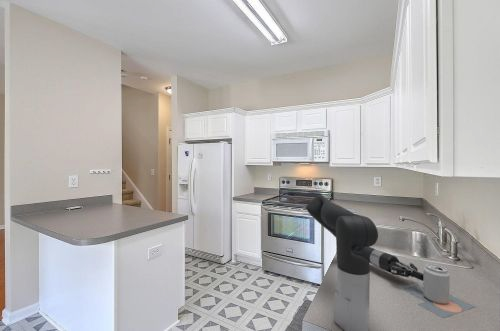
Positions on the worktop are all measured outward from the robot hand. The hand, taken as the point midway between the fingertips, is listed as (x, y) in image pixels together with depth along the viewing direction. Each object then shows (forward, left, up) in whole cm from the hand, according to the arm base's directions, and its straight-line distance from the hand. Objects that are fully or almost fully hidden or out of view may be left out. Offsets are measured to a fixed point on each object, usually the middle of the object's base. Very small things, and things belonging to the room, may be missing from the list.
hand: (424, 278), depth 88 cm
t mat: (0, -2, -7) cm, 7 cm away
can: (0, -4, -6) cm, 7 cm away
